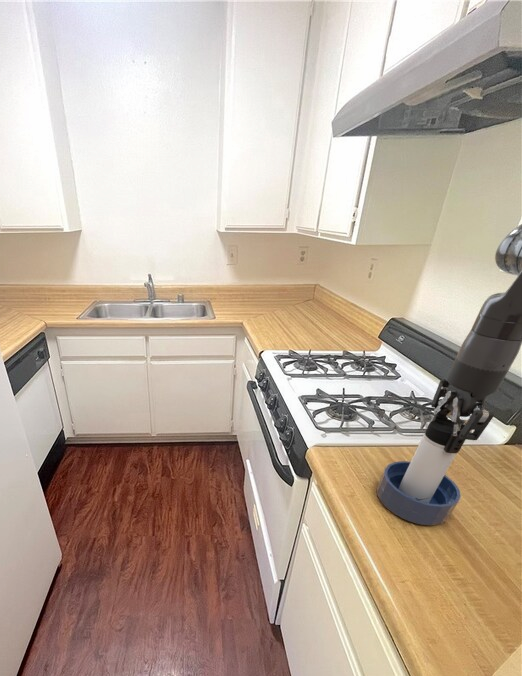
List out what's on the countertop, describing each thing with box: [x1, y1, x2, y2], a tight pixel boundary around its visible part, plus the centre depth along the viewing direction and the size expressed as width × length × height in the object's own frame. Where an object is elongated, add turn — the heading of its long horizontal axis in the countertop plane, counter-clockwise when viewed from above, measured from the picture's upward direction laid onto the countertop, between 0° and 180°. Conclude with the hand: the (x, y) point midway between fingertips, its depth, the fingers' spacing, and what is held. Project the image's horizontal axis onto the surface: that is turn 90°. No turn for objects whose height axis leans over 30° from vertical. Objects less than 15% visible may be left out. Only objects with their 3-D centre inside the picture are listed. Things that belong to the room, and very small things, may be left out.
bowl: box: [376, 460, 462, 526], centre depth 75 cm, size 14×14×6 cm
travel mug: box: [398, 419, 465, 503], centre depth 71 cm, size 6×7×20 cm
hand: (441, 441), depth 67 cm, fingers closed on travel mug, 6 cm apart
